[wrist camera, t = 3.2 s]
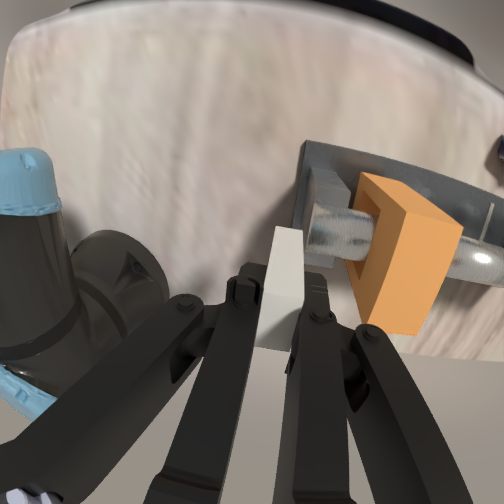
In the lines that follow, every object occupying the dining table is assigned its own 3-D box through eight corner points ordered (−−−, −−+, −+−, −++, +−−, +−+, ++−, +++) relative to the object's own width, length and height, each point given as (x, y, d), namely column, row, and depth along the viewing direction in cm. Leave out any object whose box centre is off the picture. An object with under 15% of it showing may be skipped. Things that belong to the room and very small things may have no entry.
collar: (341, 251, 27) (363, 330, 17) (360, 171, 23) (406, 211, 13) (379, 258, 27) (416, 335, 16) (401, 181, 23) (463, 227, 13)
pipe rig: (288, 243, 31) (284, 302, 21) (306, 139, 26) (313, 150, 16) (503, 283, 29) (542, 329, 19) (531, 211, 24) (581, 245, 14)
